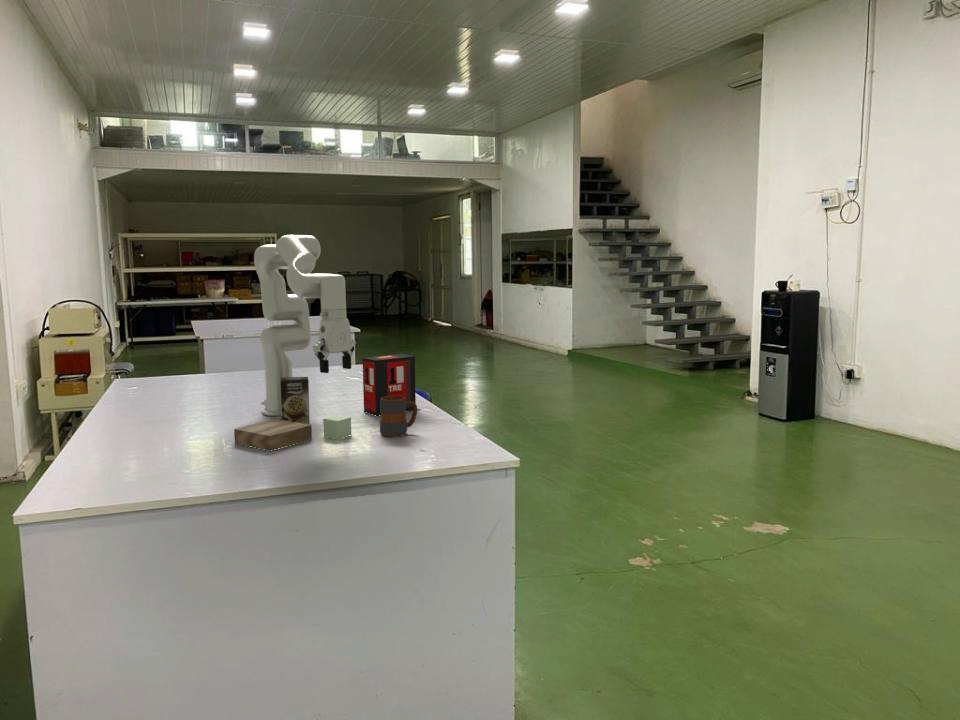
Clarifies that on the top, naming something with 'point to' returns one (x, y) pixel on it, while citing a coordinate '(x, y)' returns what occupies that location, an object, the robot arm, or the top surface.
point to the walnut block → (273, 434)
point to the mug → (395, 415)
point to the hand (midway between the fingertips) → (335, 370)
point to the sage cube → (337, 426)
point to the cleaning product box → (388, 380)
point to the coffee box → (295, 399)
